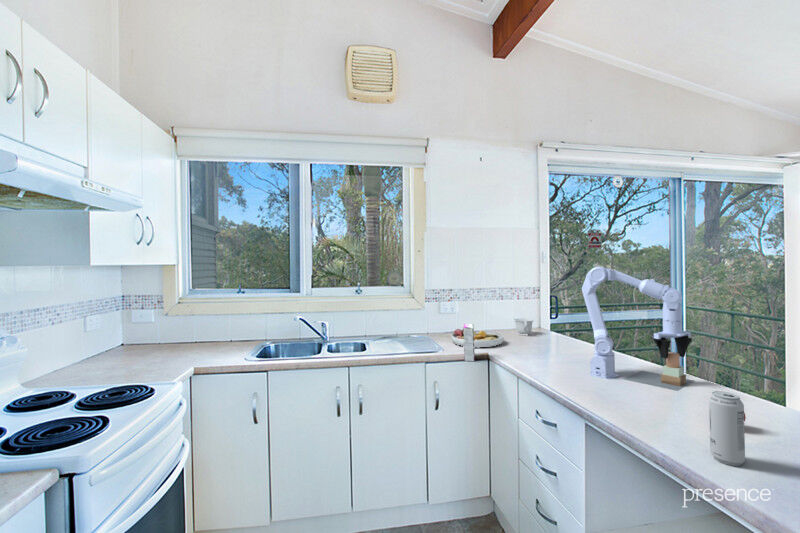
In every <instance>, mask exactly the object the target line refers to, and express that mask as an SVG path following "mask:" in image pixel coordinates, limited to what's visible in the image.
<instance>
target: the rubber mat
mask: <svg viewBox="0 0 800 533" xmlns="http://www.w3.org/2000/svg"><path fill="white" fill-rule="evenodd" d="M661 374H662V373H657V372H651V371H646V370H639V371H637V372H634V373H632V374H631V375H628V376H626V377H624V378H622V380H624V381H629V382H633V383H639V384H643V385H644V384H645V385H647V386H652V387H658V388H660V389H661V388H662V389H666V390H671V391H677V392H678V391H680V390H682V389H683V388H685V387H687V386H688V385H690V384H692V383H694V382H695V379H690V378H686V383H685V384H684V385H682V386H675V385H670V384H666V383H661Z"/></svg>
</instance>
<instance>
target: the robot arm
mask: <svg viewBox="0 0 800 533" xmlns="http://www.w3.org/2000/svg"><path fill="white" fill-rule="evenodd" d="M606 280H607V281H618V282H620V283H624V284H626V285H629V286H632V287H635V288H637V289H638V290H639V292H640V293H641V294H644V295H647V296H648V297H651V298H653V299H657V300H662V304H663V305H662V310H661V311H662V331H659V332H654V333H653V338H652V339H653V340H652V341H653V342H654V343H655V344H656V346H657V348H658V352H659V355H660V357H661V358H663V359H667V358H668V352H669V348H670V345H671V343H672V341H671V340H669V339H674V341H675V345H676V353H679V357H681V358H684V357H685V356H686V353H687V350H688V347H689V346H690V343H691V342H693V338H692V337H691V336H692V335H691V334H692V333H691V331H689V330H683V326H682V325H683V324H682V321H683V320H682V318H683V316H682V303H681V302H682V301H683V295H682V293H681V292H680V291H679V290H678V289H676V288H674V287H670V285H668V284H662V283H659V282H657V281H656V279H653V278H651V279H648V278H647V279H643V280H641V279H640V278H639V279H638V278H637V277H634V276H631V275H628V274H626V273H624V272H621V271H619V270H615V269H613V268H605V267H604V266H594V267H593V268H591V269H590V270H589V271H588V272H587V273H586V276H585V279H584V282H583V284H582V286H581V291H582V296H583V300H584V303H585V305H586V309H587V312H588V316H589V321H590V323H591V326H592V331H593V338H594V346H593V348H594V352H593V353H594V354H593V356H592V357H591V359H590V361H589V362H590V374H588V376H590V377H595V378H599V379H605V380H611V379H613V378H616V377H618V376H620V374H618V373H616V365H615V364H616V361H615V359H616V358H615V357H616V356H615V352H614V351H613V347H614V346H615V345H614V344H615V343H614V340H613V338H611V336H610V334H609V332H608V329H607V327H606V323H605V319H604V316H603V313H602V309H601V307H600V306H601V305H600V302H599V299H598V297H597V293H596V290H597V289H598V288H599V286H600V285H601V284H602V283H604V282H605V281H606Z"/></svg>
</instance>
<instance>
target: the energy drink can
mask: <svg viewBox="0 0 800 533" xmlns="http://www.w3.org/2000/svg"><path fill="white" fill-rule="evenodd" d="M711 394H712V395H711V396H710V397H709V398H708V408H709V409H708V411H709V412H708V414H709V416H708V417H709V418H708V419H709V453H710V454H711V455H712V457H713V459H714V460H716V461H717V462H719V463H721V464H724V465H727V466H733V467H739V466H742V465H743V463H745V462H746V445H745V444H746V442H745V439H746V438H745V437H746V436H745V422H744V413H745V405H744V402H743V401H742V400H741V396H740V395H738V394H736V393H733V392H727V391H718V390H717V391H716V390H715V391H712V392H711Z"/></svg>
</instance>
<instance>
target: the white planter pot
mask: <svg viewBox="0 0 800 533" xmlns="http://www.w3.org/2000/svg"><path fill="white" fill-rule="evenodd" d="M513 321H514V322H515V330H516V332H518V334H529V335H530V333H531V332H532V328H533V322H534V319H532V318H525V317H524V318H514V320H513Z"/></svg>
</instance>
